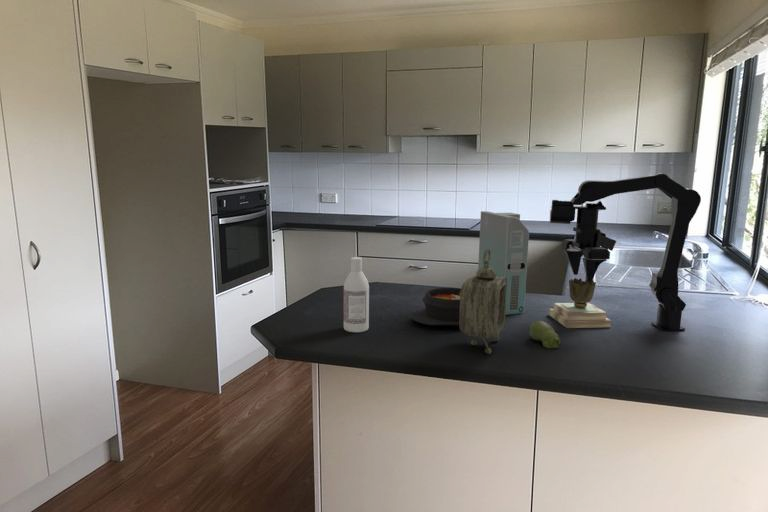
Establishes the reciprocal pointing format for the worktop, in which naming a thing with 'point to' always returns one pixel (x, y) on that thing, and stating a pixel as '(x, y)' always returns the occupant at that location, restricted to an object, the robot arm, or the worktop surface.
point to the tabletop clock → (483, 305)
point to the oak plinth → (579, 316)
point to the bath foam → (356, 299)
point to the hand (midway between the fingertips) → (582, 278)
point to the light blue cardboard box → (506, 254)
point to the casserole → (440, 307)
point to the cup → (581, 292)
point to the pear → (544, 334)
